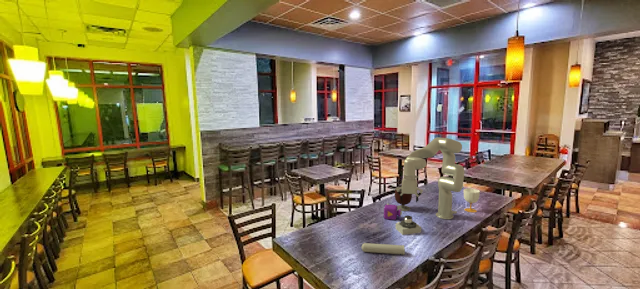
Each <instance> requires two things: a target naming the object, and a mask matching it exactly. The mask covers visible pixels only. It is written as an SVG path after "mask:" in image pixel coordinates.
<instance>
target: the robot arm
mask: <svg viewBox="0 0 640 289" xmlns="http://www.w3.org/2000/svg"><path fill="white" fill-rule="evenodd" d="M462 150H463V145H462V143H461V141H458V140H455V139H452V138H448V137H447V138H446V137H439V136H438V137H435V138H433V139H432V140H430V142H429V143H428V144H427V145H426V146H424V147H422V148H419V149H417V150H415V151H414V150H413V151H412V152H411V153H410V154H409V155H407V157H406V158H405V159H404V161H403V178H402V180H401V186H398V187H399V188H397V187H396V188H397V189H396V188H395V189H396V190H397V192H398V194H399V195H400V200H401V201H403V194H404V193H405V194H412V195H414V196H415V202H416V203H418V202H419V197H420V196H421V195H422V194H423V192H424V190H423V189H421V188H419V187H418V182H417V179H418V178H419V176H418V175H416V170H422V169H425V167H427V161H426V160H425V159H427V158H432V157H435V155H436V154H437V153H438V152H441V154H442V164H441V173H442V175H445V176H440V177H439V178H438V180H437V186H438V207H437V208H438V209H437V212H436V213H435V216H436V217H437V218H438V219H442V220H452V219H454V214H457V211H456V210H452V207H453V193H454V192H456V193H460V192H461V191H462V189H463V186H464V179H465V168H464V166H463V165H461V164H457V163H456V155H455V154H458V153H460V152H461V151H462ZM400 189H402V192H400V191H399V190H400ZM418 191H419V192H418ZM452 192H453V193H452Z"/></svg>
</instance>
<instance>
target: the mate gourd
mask: <svg viewBox="0 0 640 289" xmlns="http://www.w3.org/2000/svg"><path fill="white" fill-rule="evenodd" d="M399 187H400V186H398V187H396V188H394V190H395V191H394V199H395V202H396V203H397V210H399V209H401V211H402V212H410V210H411V207H410V206H408V205H409V204H410V203H411V202H412V198H413V194H405V193H404V194H403V201H401V200H400V195H399V194H398V192H397V190H396V189H397V188H399ZM399 191H400V192H402V189H400V190H399ZM398 204H399V205H398Z"/></svg>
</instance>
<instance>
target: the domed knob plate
mask: <svg viewBox="0 0 640 289" xmlns="http://www.w3.org/2000/svg"><path fill="white" fill-rule="evenodd" d="M395 230H396V231H398V232H399V233H400V234H401V235H402V236H405V235H412V234H420V233H422V226H421V225H420V224H418V223H416V222H415V221H414V220H412V225H406V224H404V220H400V221H397V222H396V223H395Z"/></svg>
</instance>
